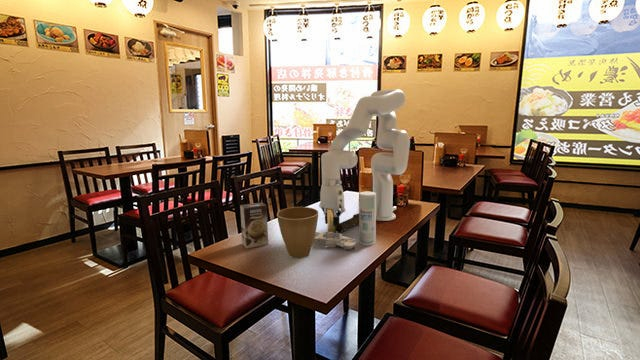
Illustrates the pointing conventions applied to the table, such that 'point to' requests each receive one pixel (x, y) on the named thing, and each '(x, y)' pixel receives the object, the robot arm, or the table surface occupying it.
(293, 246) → the plant pot
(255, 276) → the table surface
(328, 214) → the brass pin
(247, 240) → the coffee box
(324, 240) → the two-arm fidget spinner
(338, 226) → the brown wooden stick
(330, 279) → the table surface
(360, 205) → the spray can
